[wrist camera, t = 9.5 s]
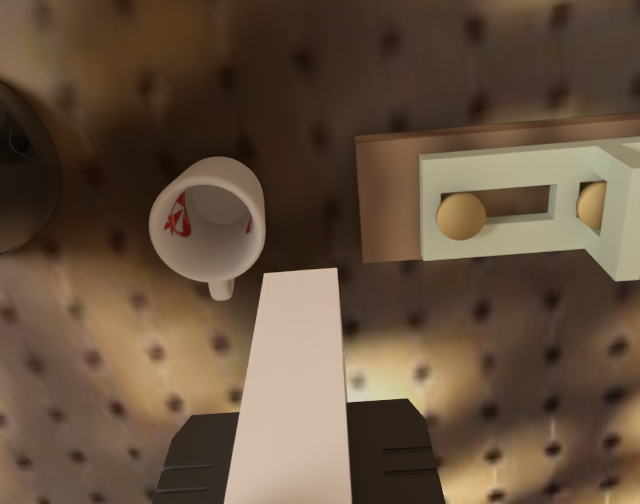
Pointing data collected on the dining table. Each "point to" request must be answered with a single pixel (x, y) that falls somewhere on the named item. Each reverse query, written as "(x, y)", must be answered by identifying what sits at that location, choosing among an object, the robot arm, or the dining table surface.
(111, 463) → the dining table surface
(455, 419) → the dining table surface
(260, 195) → the cup
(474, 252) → the panel
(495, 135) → the rail
